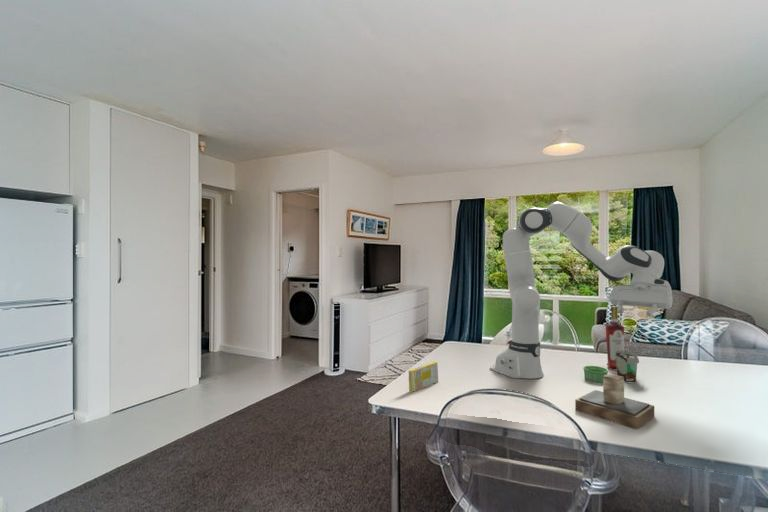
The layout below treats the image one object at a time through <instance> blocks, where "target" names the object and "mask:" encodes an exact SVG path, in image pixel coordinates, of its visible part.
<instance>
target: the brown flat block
mask: <svg viewBox="0 0 768 512" xmlns="http://www.w3.org/2000/svg"><path fill="white" fill-rule="evenodd" d="M574 407H575V409H574V410H575V411H576V412H580V413H583V414H586V415H590V416H593V417H597V418H600V419H603V420H605V419H606V421H608V420H609V422H611V421H612V423H614V424H618V425H622V426H624V427H627V426H628V428H630V429H633V430H639V429H640V428H641V427H643V426H645V424H647V423H648V422H650V421H651V420H652V419H653V418H655V405H653V404H650V403H646V402H643V401H639V400H637V399H636V400H635V399H631V398H627V397H624V402H622V403H621V404H619V405H617V404H614V403H610V402H606V401H604V396H603V391H600V390H597V389H596V390H592V391H590V392H588V393H586V394H584V395H581V396H579V397H578V398H576V399H575V405H574Z"/></svg>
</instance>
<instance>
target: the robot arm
mask: <svg viewBox="0 0 768 512" xmlns="http://www.w3.org/2000/svg"><path fill="white" fill-rule="evenodd" d="M547 228H552V229H554V230H557V232H559V233H560V234H562V235H564V236H565V237H566V238H567V239H568V240H569V241H570V245H571V246H572V247H573V249H574V250H576V252H578V253H579V254H580V255H581V256H582V257H583V258H585V259H586V261H588V262H589V263H590V264H592V265H593V266H594V267H596V268H597V270H598V271H599V272H600V274H602V275H603V276H604V278H606V279H608V280H609V281H612V282H621V281H622V280H624V279H625V278H626V277H628V275H629V274H632V277H631V280H630V284H617V285H615V286H613V287H612V289H611V291H610V293H609V295H608V300H609V302H610V304H612V305H613V306H618V314H624V312H625V308H624V306H628V307H640V308H650V309H647V310H646V313H645V314H646V316H647V317H653V315H654V313H656V312H657V311H659V309H665V310H669V309H670V308H672V306H673V302H674V301H673V295H672V294H673V291H672V290H673V289H672V286H671V284H670V282H669V281H668V280H665V279H661V277H662V276H663V273H664V268H665V258H664V257H663V255H662V254H661V253H659V252H657V251H655V250H643V249H642V248H640V247H638V246H635V245H630V244H628V245H627V244H626V245H624V246H622V247H621V248H620V249H618V250H617V251H615V252H614V253H613V254H612V255H610V256H607V255H605V254H604V253H602V251H600V250H599V249H598V248H596V247H595V246H594V245H593V244H592V242H591V236H592V232H593V223H592V221H591V219H590V218H589V217H588V216H587V215H585V213H582V212H580V211H579V210H578V209H576V208H574V207H572V206H570V205H568V204H565V203H563V202H561V201H555V202H552V203H551V204H549V205H548V206H547V207H546V208H542V207H530V208H527V209H526V210H524V211H523V212H521V214H520V216H519V219H518V222H517V225H516V226H515V227H510V228H508V229H506V230H505V231H504V232H503V234H502V251H503V255H504V256H503V257H504V263H505V268H506V275H507V281H508V282H507V283H508V289H509V294H510V300H511V303H512V304H511V305H512V306H511V307H512V308H511V309H512V310H511V340H508V341H507V342H506V345H508V348H506V349H505V350H503V351H502V352H500V353H499V354H498V355H496V358H495V363H494V364H491V365H490V368H489V369H490V371H494V372H496V373H498V372H499V373H498V374H502V375H504V376H507V377H509V378H512V379H530V380H531V379H540V378H543V377H544V371H543V369H542V365H541V358H540V357H541V342H540V338H539V337H540V329H539V327H540V312H541V295H540V292H539V291H538V290H537V289H536V282H535V271H534V269H535V267H534V264H533V257H532V252H531V248H530V238H531V237H533V236H534V235H537V234H540V233H541V232H543V230H545V229H547Z"/></svg>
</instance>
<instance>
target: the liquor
mask: <svg viewBox="0 0 768 512" xmlns="http://www.w3.org/2000/svg"><path fill="white" fill-rule="evenodd" d="M610 308H611V309H610V310H611V319H610V323H608V324H606V325H605V339H606V351H607V353H606V354H607V362H606V366H607V367H608V368H609V369H610V368H611V370H614V369H617V367H616V356H615V353H616V352H624V348H625V346H624V345H625V344H624V343H625V328H626V327H625V326H623V325H622V324H620V322H619V315H618V314H619V313H618V308H619V307H618V305H611V307H610Z"/></svg>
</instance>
